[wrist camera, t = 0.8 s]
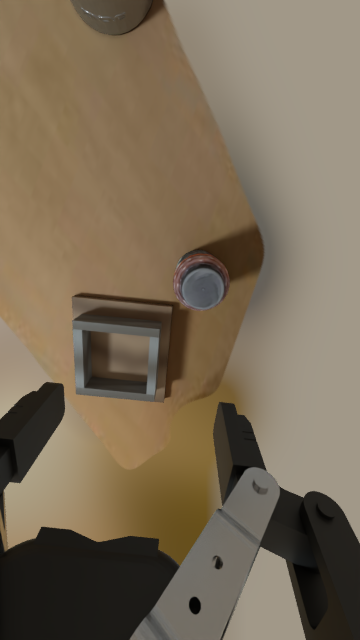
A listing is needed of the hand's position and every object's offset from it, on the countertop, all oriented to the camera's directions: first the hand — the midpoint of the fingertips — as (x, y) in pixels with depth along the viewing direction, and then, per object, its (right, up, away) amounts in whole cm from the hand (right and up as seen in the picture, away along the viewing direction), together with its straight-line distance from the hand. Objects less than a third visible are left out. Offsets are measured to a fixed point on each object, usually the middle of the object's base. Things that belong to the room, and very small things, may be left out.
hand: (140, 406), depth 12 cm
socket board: (-7, 0, +25) cm, 26 cm away
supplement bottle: (+4, +11, +21) cm, 24 cm away
